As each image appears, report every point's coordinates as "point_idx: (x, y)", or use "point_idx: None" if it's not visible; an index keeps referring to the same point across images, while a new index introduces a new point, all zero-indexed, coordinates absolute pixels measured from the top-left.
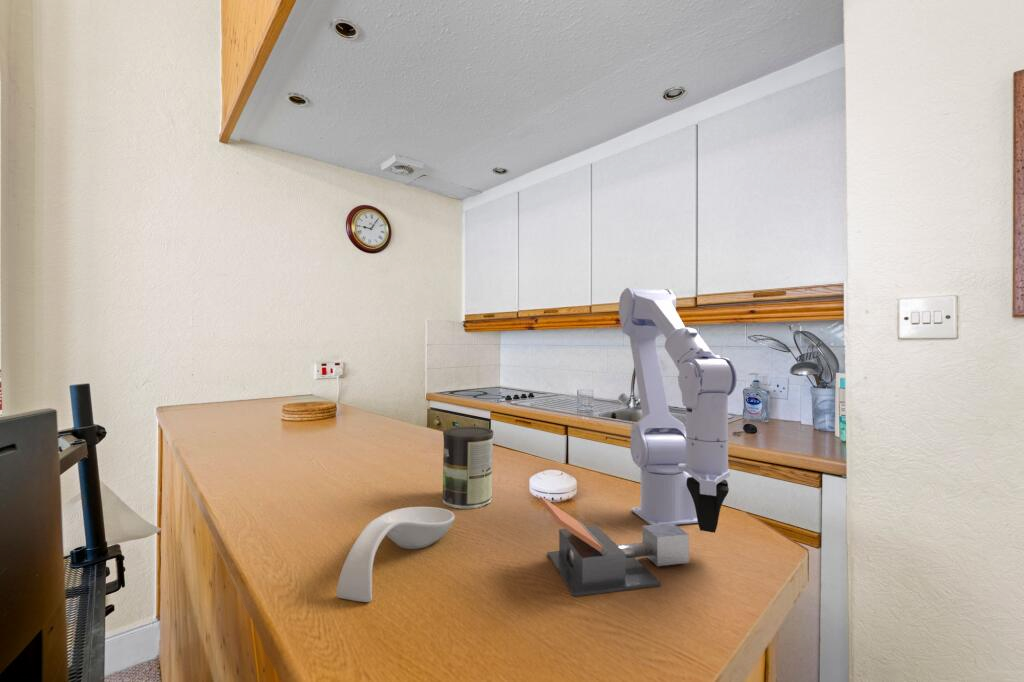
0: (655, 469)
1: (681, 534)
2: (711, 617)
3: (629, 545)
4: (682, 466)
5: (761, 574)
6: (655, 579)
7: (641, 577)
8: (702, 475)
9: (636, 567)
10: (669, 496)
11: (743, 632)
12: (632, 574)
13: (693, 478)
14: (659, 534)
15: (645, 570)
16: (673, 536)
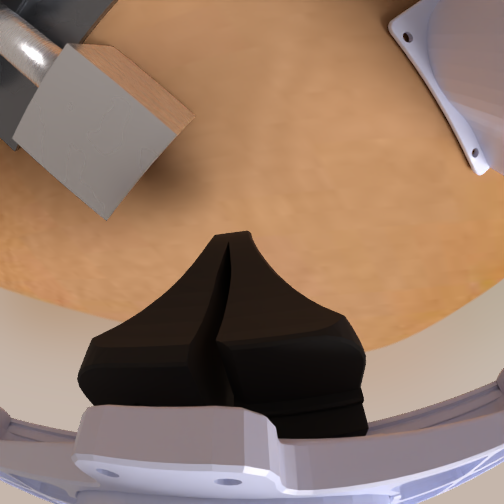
0: None
1: (85, 198)
2: (7, 250)
3: (8, 53)
4: (94, 476)
5: None
6: None
7: (6, 107)
8: (21, 482)
9: None
10: (498, 95)
11: (14, 289)
12: (5, 85)
13: (320, 372)
14: (33, 133)
15: None
16: (56, 177)
